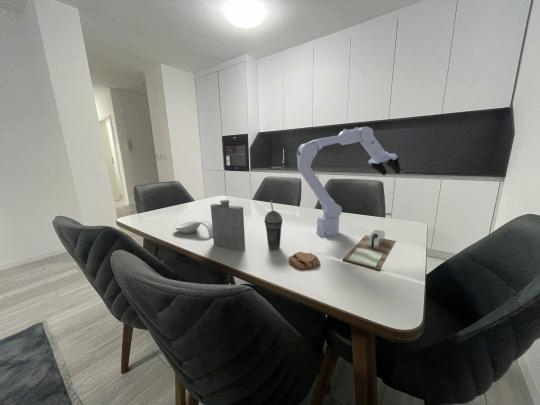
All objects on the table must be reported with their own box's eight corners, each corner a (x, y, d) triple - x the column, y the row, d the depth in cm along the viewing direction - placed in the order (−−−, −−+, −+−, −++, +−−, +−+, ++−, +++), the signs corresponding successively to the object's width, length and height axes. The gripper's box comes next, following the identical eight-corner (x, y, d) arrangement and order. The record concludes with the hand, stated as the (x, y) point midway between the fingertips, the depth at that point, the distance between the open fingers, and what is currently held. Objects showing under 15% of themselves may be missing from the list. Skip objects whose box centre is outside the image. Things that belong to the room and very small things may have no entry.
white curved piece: (171, 233, 112) (169, 220, 110) (189, 226, 122) (188, 214, 120) (205, 241, 101) (203, 226, 99) (222, 233, 111) (221, 219, 109)
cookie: (322, 269, 74) (323, 261, 73) (291, 271, 73) (291, 263, 72) (314, 256, 83) (314, 248, 83) (286, 257, 82) (286, 250, 82)
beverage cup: (270, 253, 86) (268, 203, 82) (262, 246, 92) (260, 199, 88) (286, 249, 89) (285, 200, 85) (277, 243, 96) (276, 197, 91)
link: (373, 238, 95) (374, 229, 94) (384, 240, 93) (385, 231, 92) (366, 247, 87) (367, 237, 86) (377, 249, 84) (378, 239, 83)
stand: (380, 271, 71) (381, 254, 69) (342, 261, 78) (343, 245, 77) (395, 243, 92) (397, 229, 91) (365, 237, 99) (366, 224, 98)
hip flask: (246, 248, 91) (244, 200, 87) (241, 251, 88) (238, 202, 84) (217, 241, 99) (213, 197, 95) (210, 245, 96) (206, 199, 91)
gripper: (393, 140, 91) (411, 164, 94) (368, 147, 105) (384, 168, 108) (383, 151, 90) (401, 176, 93) (359, 157, 104) (376, 178, 107)
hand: (392, 173), depth 100 cm, fingers open, 7 cm apart
